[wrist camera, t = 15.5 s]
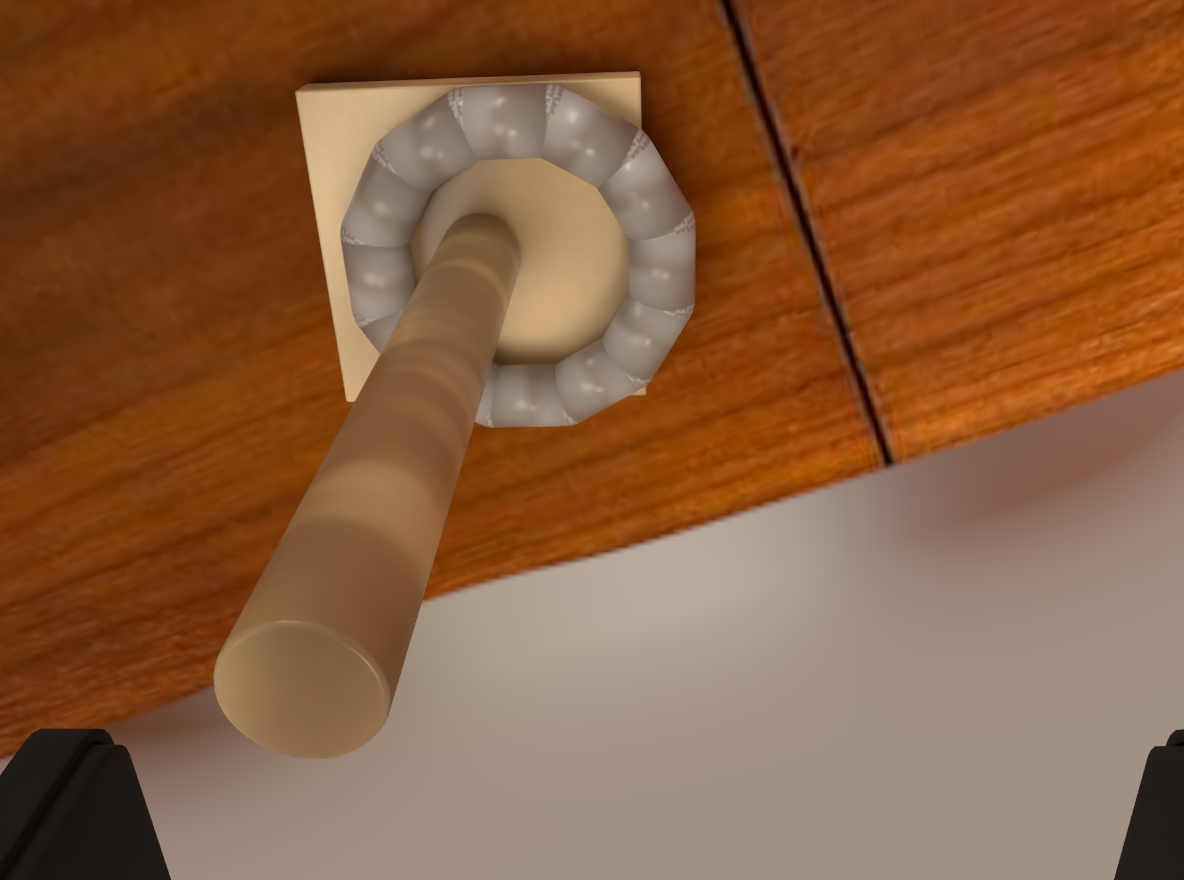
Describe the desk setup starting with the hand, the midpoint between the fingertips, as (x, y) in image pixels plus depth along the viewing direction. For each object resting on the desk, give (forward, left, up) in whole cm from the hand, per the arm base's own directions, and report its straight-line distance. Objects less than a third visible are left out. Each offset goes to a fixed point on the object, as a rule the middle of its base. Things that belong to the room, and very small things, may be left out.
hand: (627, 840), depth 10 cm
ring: (+3, 0, -17) cm, 17 cm away
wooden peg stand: (+4, 0, -19) cm, 19 cm away
